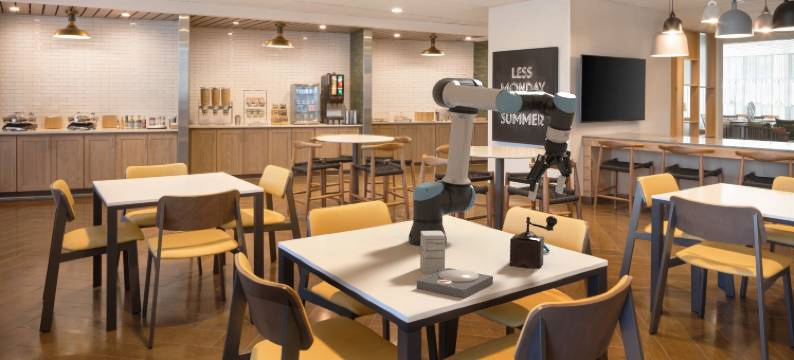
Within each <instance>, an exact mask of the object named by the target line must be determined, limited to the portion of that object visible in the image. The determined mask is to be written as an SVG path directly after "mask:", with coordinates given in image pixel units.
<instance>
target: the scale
mask: <svg viewBox="0 0 794 360" xmlns="http://www.w3.org/2000/svg"><path fill="white" fill-rule="evenodd" d="M493 284H494V276H493V275H489V274H482V273H479V272H474V271H472V270H467V269H466V270H465V269H456V268H451V267H445V269H444V270H441V271H439V272H436V273H430V275H427V276H425V277H422V278H420V279H416V289H419V290H424V291H428V292H432V293H438V294H442V295H448V296H452V297H457V298H461V299H465V298H467V297H469V296H471V295H473V294H475V293H477V292H479V291H482V290H483V289H485V288H487V287H489V286H492V285H493Z"/></svg>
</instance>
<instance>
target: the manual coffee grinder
mask: <svg viewBox="0 0 794 360" xmlns="http://www.w3.org/2000/svg"><path fill="white" fill-rule="evenodd" d="M525 219H526V221H525V223H526V228H525V229H526V230H525V231H523V232H520V233H515V234H514V235H513V236H512V237H511V238H510V243H509V264H508V265H509V267H513V268H514V267H516V268H522V269H523V268H524V269H526V268H527V269H538V270H539V269H541V268H542V267H543V266H544V254H545V253H544V250H545V249H544V244H545V236H543V235H542V236H540V235H537V234H535V233H534V232H533V231H532V232H533V233H532V232H531V231H530V225H531V226H533V227H537V228H540V229H544V230H546V231H547V232H549V231H551V232H553V231H554V228H555V226H556V225H557V224H558V219H557V218H556V217H555V216H552V215H549V216H547V217H546V219H545V222H546V225H545V226H544V225H542V224H538V223H533V222H531V217H530V216H527V217H526V218H525Z"/></svg>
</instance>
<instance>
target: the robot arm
mask: <svg viewBox="0 0 794 360" xmlns="http://www.w3.org/2000/svg"><path fill="white" fill-rule="evenodd" d="M431 94H432V99H433V101H434V103H435V104H436V105H437V106H438V107H441V108H445V109H448V113H449V114H450V115H451V124H450V134H449V146H448V152H447V166H446V174H445V176H444V177H442V178H441V182H440V181H439V182H437V181H432V182H431V181H430V182H428V181H427V182H423V183H420V184H417V185H415V187H414V188H413V194H412V199H413V201H412V203H413V207H412V208H413V209H412V212H413V213H412V225H411V228H410V231H409V235H408V240H407V241H408V243H409V244H411V245H414V246H421V231H442V232H443V233H444V235H445V245H446V244H447V243H448V242H447V240H448V239H447V234H446V230H445V227H444V224H443V219H444V218H443V216H444V215H450V214H462V213H465V212H467V211H469V210H471V208H473V206H474V204H475V201H476V191H475V189H474V187H473V185H471V183H472V181H471V179H469V167H470V158H471V156H470V155H471V146H472V137H473V129H474V120H475V117H477V116H479V110H484V111H485V110H486V111H487V110H488V111H494V112H500V113H501V114H506V115H519V114H520V115H521V114H522V115H523V114H524V115H541V116H542V117H545V118H547V119H549V121H548V125H547V130H546V135H545V136H546V138H545V140H544V146H543V149H544V151H545V152H544V154H541V153H538V154H537V157H536V159H535V161H534V164H533V165H532V167H531V169H530V171H529V173H528V174H527V177H526V178H525V179H526V181H528V182H529V186H528V187H529V188H528V191H529V192H528V196H527V198H528V199H529V200H531V201H532V202H535V201H536V199H537V193H538V188H539V181H540V179H541V178H542V177H543V175H545V173H546V171H547V170H549V169H550V168H551V167H554V166H556V168H558V171H559V173H560V174H558V176H557V182H556V185H555V189H554V190H555V193H557V194H559V195H563V192H564V188H565V184H566V181H567V178H570V177H571V175H572V174H573V170H572V169H573V168H572V163H571V151H570V150H569V149H568V146H569V145H568V144H569V140H570V135H571V130H572V126H573V121H574V119H575V118H574V117H575V115H576V112H577V103H578V99H577V97H576V95H575V94H571V93H568V92H556V93H555V94H554V95H553V94H550V93H547V92H545V91H543V90H541V89H538V88H537V89H536V88H530V89H529V90H527V91H525V90H524V91H523V90H512V89H511V90H509V89H501V88H493V87H491V88H490V87H485V86H484V85H483V83H482V82H481V81H480V80H478V79H475V78H474V79H473V78H470V77H467V78H465V77H444V78H441V79H439V80H438V81H436V82H435V83H434V85H433V88H432V90H431Z"/></svg>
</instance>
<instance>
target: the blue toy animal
mask: <svg viewBox="0 0 794 360" xmlns="http://www.w3.org/2000/svg"><path fill="white" fill-rule="evenodd" d="M530 232H532V233H534V232H533V231H532V230H531V231H530ZM544 250H545V251H546V252H550V251H551V250H550V249H549V248H548V246H547V245H546V244H545V243H544Z"/></svg>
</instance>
